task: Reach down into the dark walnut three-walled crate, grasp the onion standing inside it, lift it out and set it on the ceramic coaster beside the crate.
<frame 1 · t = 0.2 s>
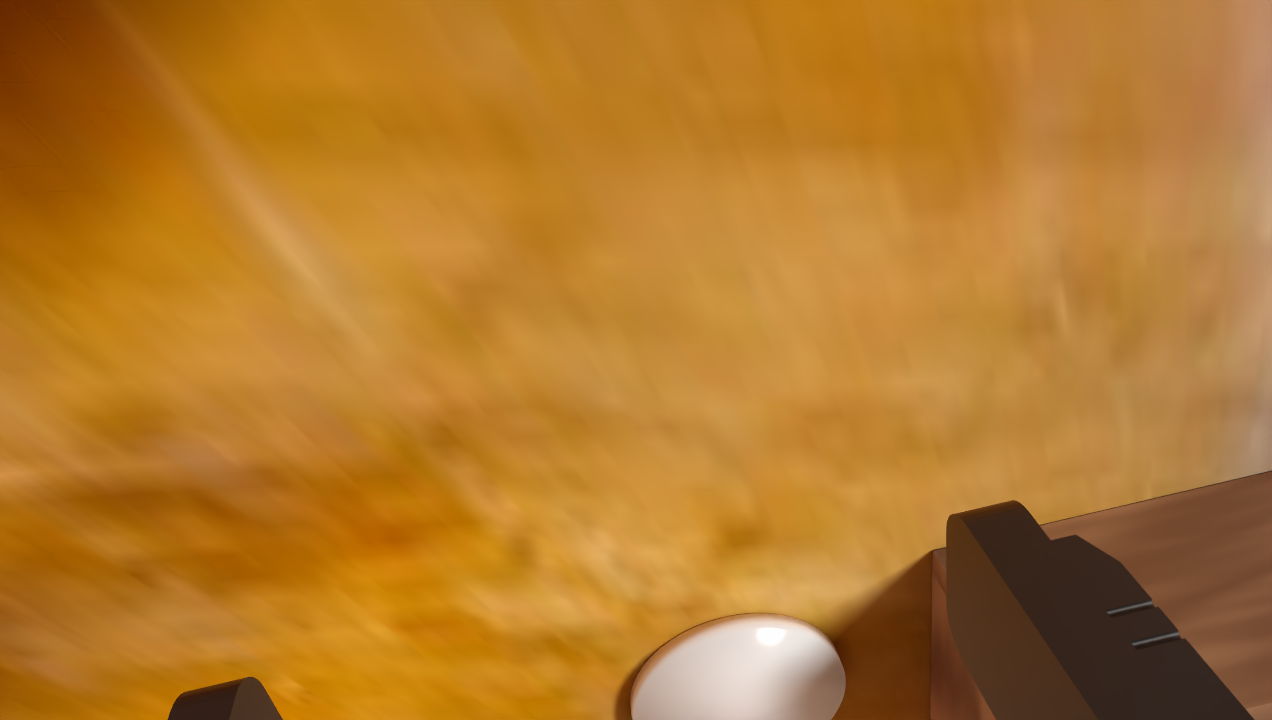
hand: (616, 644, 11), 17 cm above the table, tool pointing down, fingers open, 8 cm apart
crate: (1156, 596, 40), on the table
coaster: (735, 688, 39), on the table
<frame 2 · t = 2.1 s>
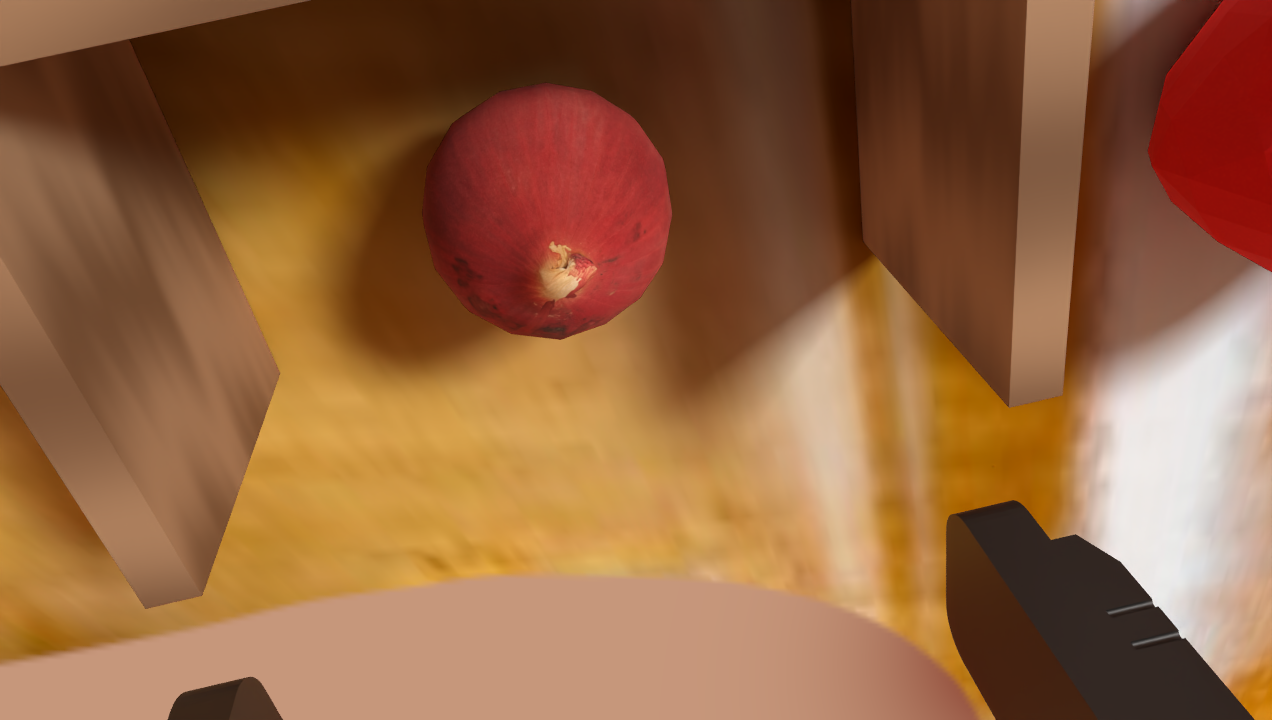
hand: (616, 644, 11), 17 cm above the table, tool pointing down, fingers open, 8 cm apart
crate: (526, 108, 24), on the table
onion: (539, 160, 25), on the table
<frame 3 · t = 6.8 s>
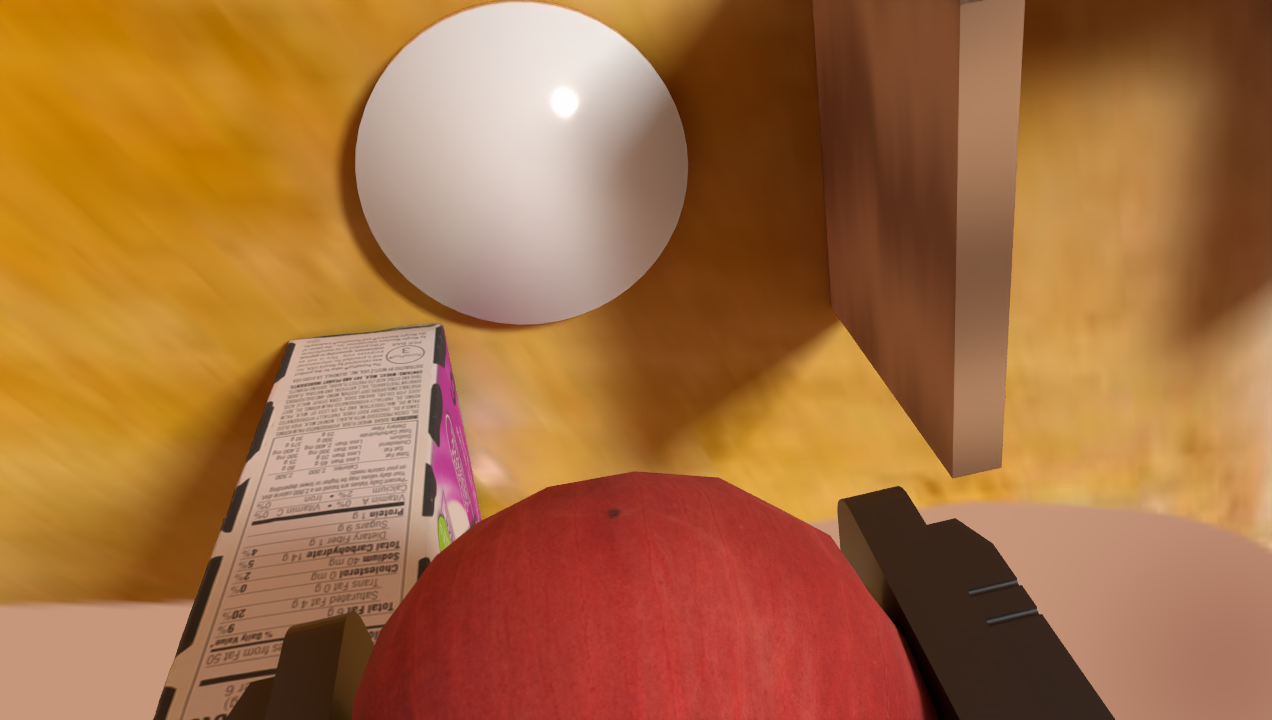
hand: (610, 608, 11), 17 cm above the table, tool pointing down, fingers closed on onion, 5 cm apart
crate: (1154, 56, 27), on the table
coaster: (525, 169, 26), on the table
onion: (598, 514, 13), point 15 cm above the table, touching gripper
candy bar box: (405, 466, 31), on the table
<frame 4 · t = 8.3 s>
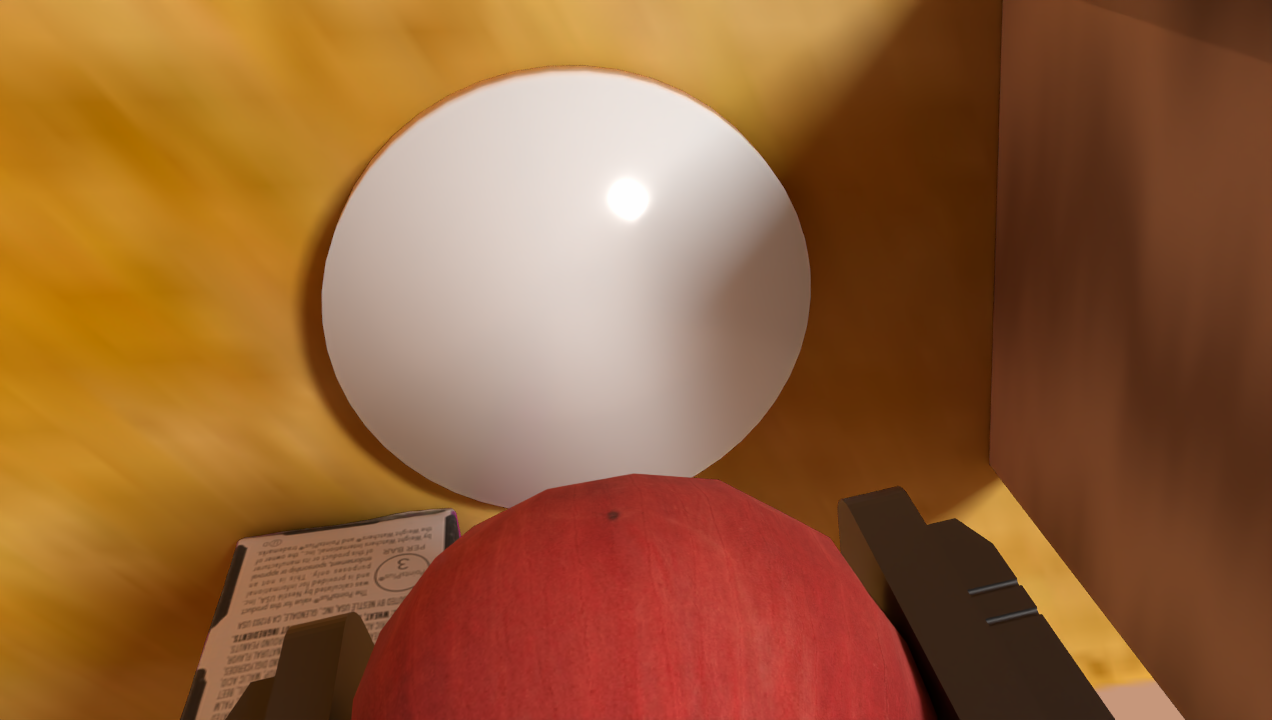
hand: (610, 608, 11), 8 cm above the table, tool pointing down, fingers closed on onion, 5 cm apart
coaster: (571, 303, 18), on the table
onion: (598, 516, 13), point 6 cm above the table, touching gripper
candy bar box: (406, 677, 23), on the table
when the fingers open (3 cm above the table, at t = 9.6 s): onion stays where it is, resting on coaster.
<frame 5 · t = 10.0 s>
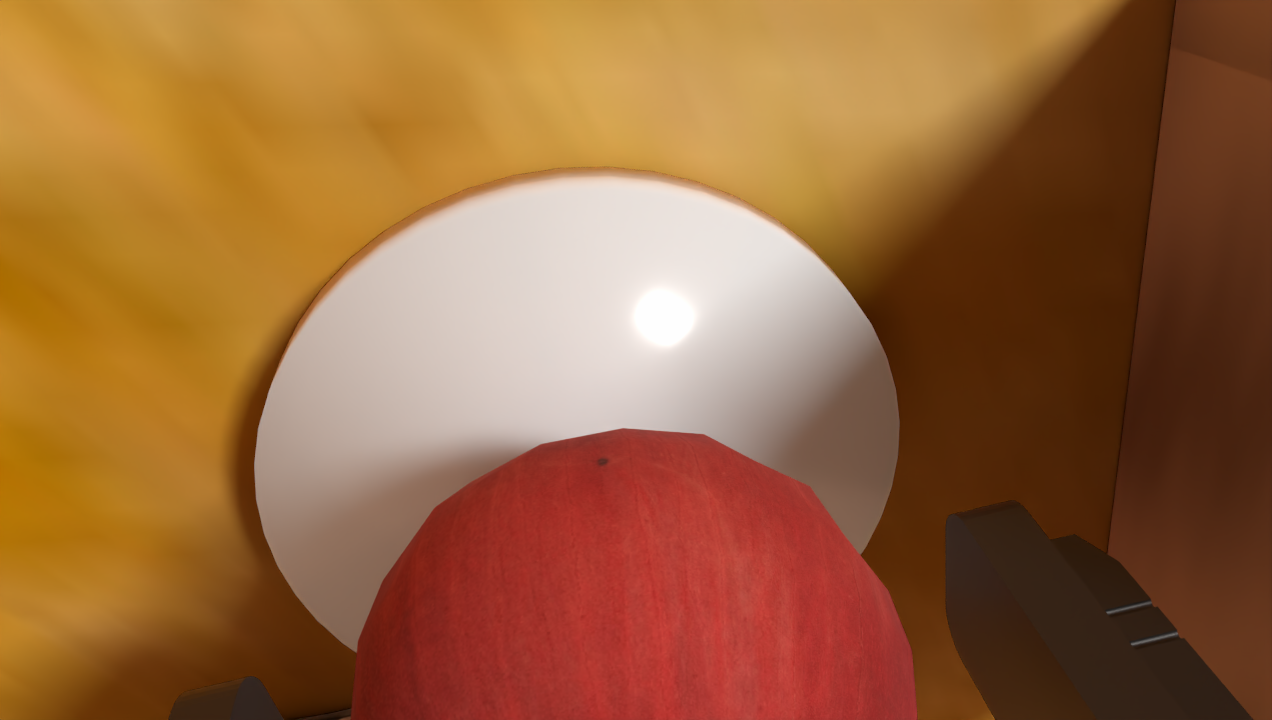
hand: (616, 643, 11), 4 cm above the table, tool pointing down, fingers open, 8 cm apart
coaster: (586, 459, 14), on the table
onion: (591, 481, 13), point 1 cm above the table, touching coaster
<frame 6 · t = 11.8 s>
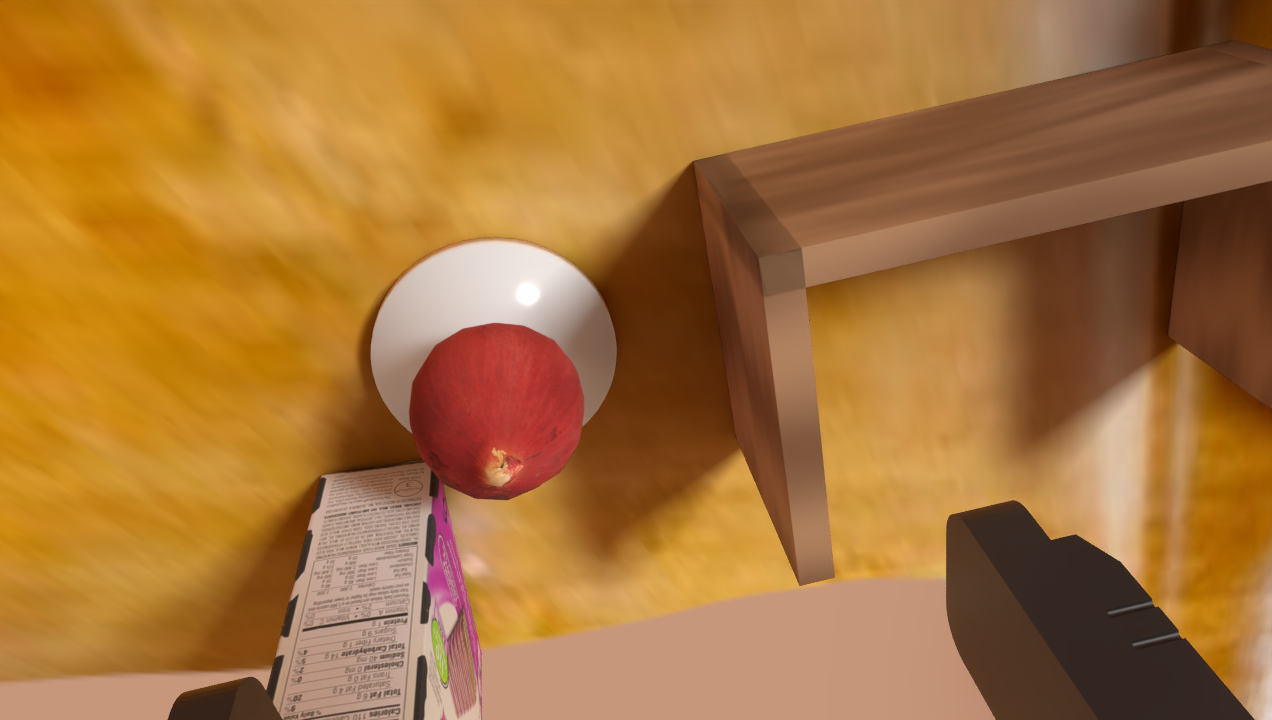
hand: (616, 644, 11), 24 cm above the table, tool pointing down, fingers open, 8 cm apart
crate: (967, 253, 36), on the table
coaster: (496, 349, 35), on the table
onion: (496, 355, 35), point 1 cm above the table, touching coaster
candy bar box: (409, 563, 40), on the table
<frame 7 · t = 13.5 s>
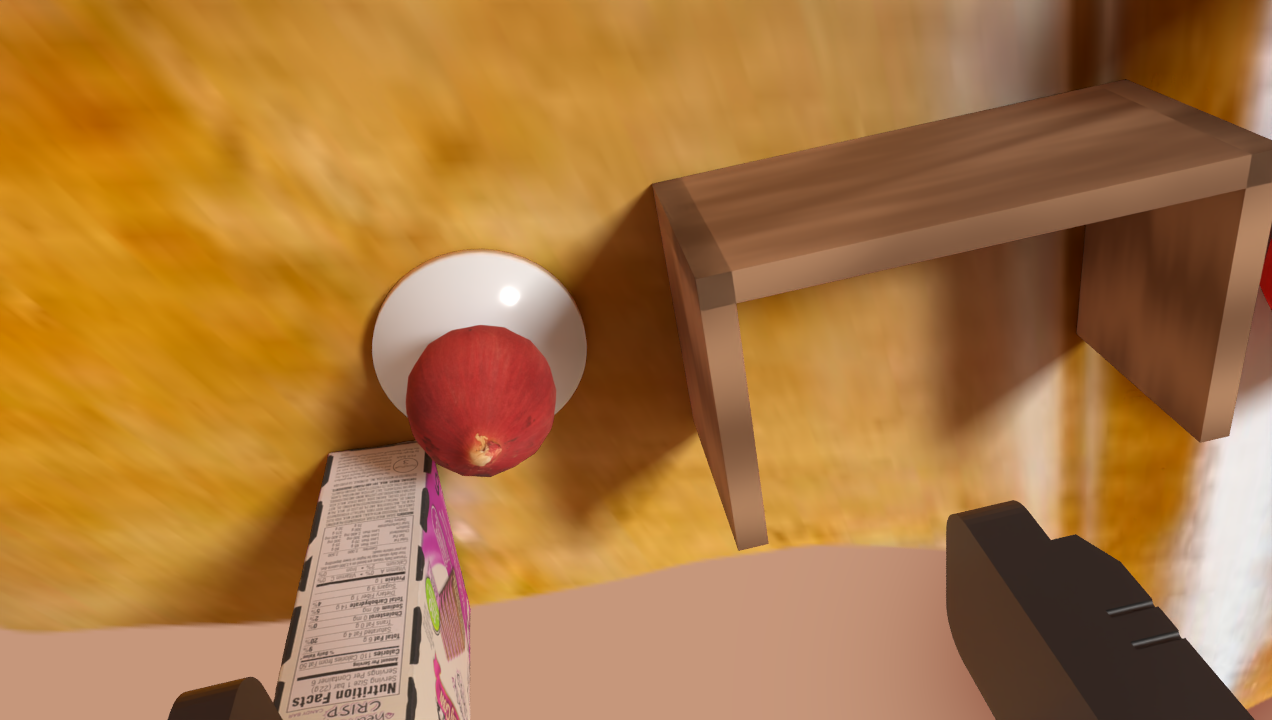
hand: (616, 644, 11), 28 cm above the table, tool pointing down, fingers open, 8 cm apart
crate: (895, 262, 41), on the table
coaster: (481, 344, 40), on the table
onion: (481, 350, 40), point 1 cm above the table, touching coaster
candy bar box: (406, 530, 45), on the table
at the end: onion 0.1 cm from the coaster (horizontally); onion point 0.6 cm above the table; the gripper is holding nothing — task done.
